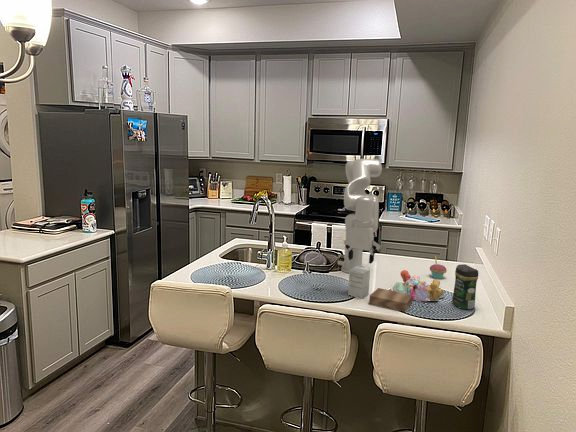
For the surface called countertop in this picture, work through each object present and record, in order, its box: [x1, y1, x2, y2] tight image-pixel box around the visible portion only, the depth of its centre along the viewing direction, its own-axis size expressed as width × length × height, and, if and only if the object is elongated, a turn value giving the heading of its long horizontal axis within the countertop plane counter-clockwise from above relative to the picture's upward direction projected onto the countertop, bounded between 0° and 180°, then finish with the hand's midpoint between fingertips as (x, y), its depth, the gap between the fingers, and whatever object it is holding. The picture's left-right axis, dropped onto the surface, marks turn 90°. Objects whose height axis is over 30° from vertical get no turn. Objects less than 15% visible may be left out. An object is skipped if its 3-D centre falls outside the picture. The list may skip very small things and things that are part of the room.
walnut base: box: [368, 287, 413, 313], centre depth 196 cm, size 16×12×4 cm
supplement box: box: [347, 266, 371, 300], centre depth 204 cm, size 7×7×13 cm
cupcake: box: [429, 255, 448, 280], centre depth 235 cm, size 9×8×12 cm
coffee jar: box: [451, 263, 479, 310], centre depth 195 cm, size 10×8×19 cm
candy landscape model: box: [390, 269, 446, 302], centre depth 210 cm, size 25×24×9 cm
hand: (360, 261), depth 202 cm, fingers open, 9 cm apart
